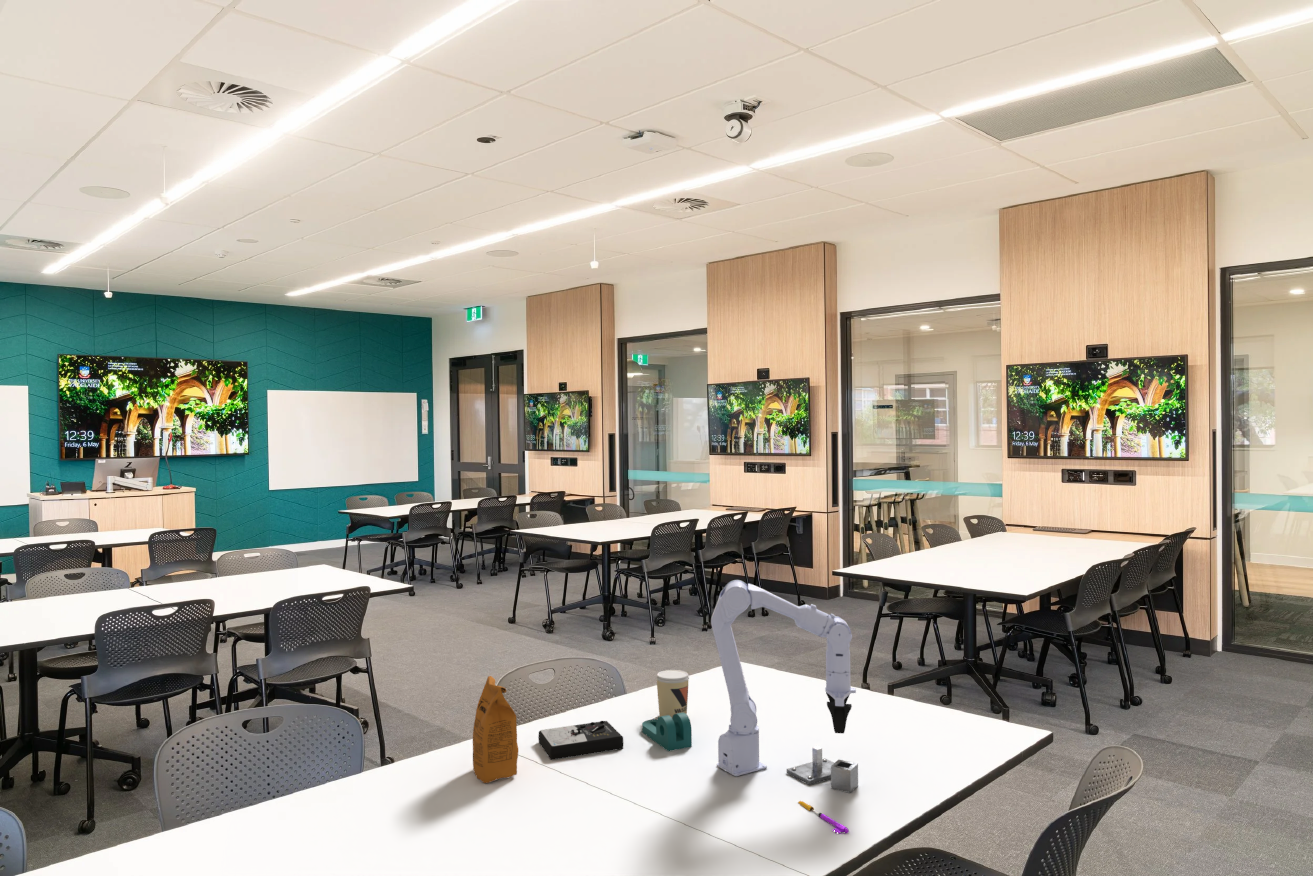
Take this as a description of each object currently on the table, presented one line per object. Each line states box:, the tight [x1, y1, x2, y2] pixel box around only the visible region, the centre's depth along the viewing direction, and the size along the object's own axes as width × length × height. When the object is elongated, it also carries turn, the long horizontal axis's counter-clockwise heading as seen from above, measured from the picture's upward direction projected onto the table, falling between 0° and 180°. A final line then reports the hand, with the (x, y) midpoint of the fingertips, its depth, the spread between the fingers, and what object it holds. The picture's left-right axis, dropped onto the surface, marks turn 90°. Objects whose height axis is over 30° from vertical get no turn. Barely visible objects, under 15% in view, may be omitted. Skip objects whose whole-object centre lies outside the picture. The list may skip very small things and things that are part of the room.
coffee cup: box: [655, 669, 690, 718], centre depth 238 cm, size 9×9×12 cm
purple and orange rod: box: [797, 800, 850, 834], centre depth 174 cm, size 3×1×16 cm
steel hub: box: [830, 759, 859, 794], centre depth 189 cm, size 5×5×5 cm
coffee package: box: [472, 675, 519, 784], centre depth 199 cm, size 10×12×22 cm
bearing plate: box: [786, 745, 835, 786], centre depth 197 cm, size 12×8×6 cm, turn 121°
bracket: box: [641, 712, 693, 752], centre depth 221 cm, size 18×7×8 cm, turn 26°
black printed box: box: [537, 720, 624, 761], centre depth 217 cm, size 13×19×5 cm
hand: (838, 727), depth 199 cm, fingers open, 7 cm apart
